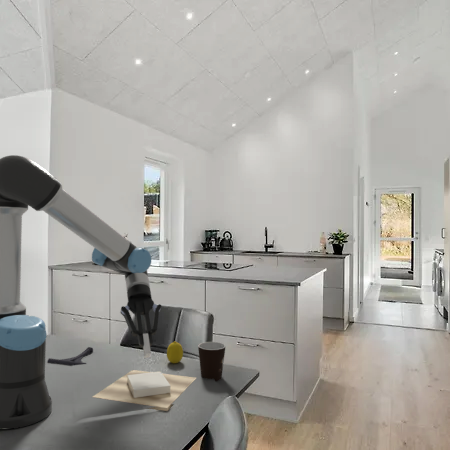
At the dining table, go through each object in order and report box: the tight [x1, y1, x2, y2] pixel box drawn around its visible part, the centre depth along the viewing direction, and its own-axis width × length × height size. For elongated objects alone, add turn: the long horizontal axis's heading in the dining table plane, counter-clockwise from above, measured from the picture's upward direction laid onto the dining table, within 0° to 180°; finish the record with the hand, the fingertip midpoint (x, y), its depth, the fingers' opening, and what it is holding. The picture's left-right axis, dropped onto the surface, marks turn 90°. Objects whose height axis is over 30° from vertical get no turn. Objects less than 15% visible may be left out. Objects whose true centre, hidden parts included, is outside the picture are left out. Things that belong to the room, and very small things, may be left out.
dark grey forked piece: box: [47, 346, 94, 366], centre depth 143 cm, size 14×15×3 cm
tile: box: [127, 370, 171, 398], centre depth 115 cm, size 2×10×12 cm
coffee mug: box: [197, 341, 226, 382], centre depth 127 cm, size 12×9×10 cm
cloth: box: [92, 369, 197, 412], centre depth 116 cm, size 22×22×1 cm
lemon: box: [166, 340, 184, 364], centre depth 137 cm, size 6×6×8 cm
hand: (147, 355), depth 117 cm, fingers closed
